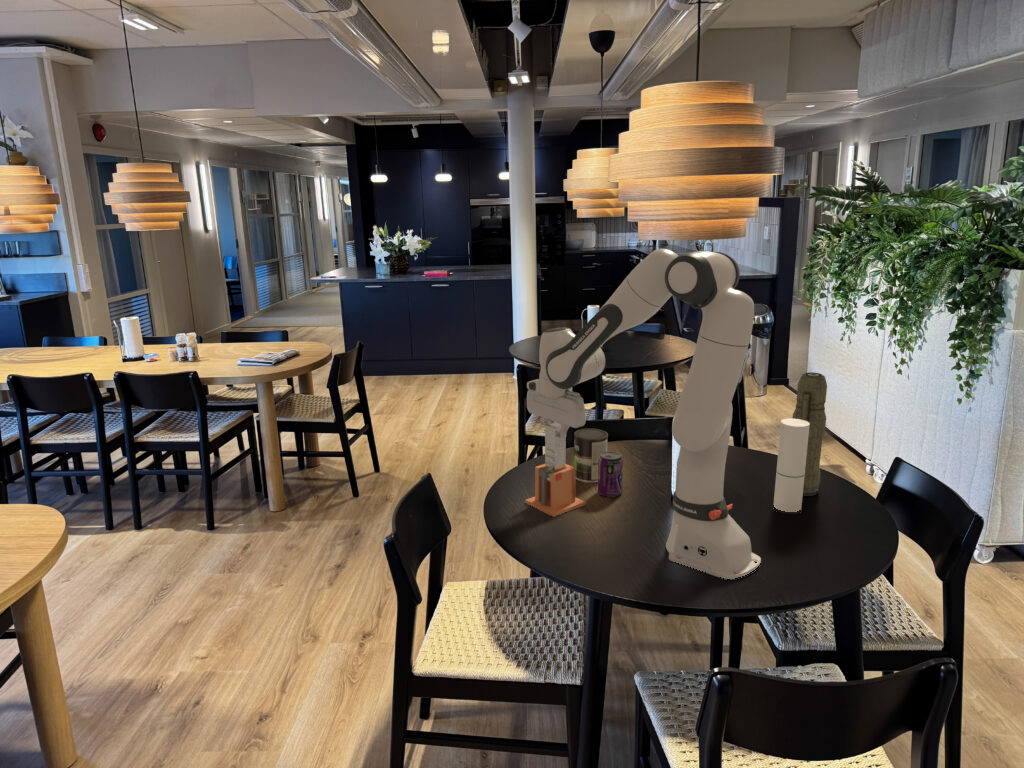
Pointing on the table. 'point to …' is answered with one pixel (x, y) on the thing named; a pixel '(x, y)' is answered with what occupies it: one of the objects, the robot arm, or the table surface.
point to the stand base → (555, 491)
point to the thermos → (812, 423)
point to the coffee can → (588, 453)
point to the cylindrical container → (791, 464)
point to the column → (554, 449)
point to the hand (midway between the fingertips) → (555, 435)
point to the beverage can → (610, 474)
